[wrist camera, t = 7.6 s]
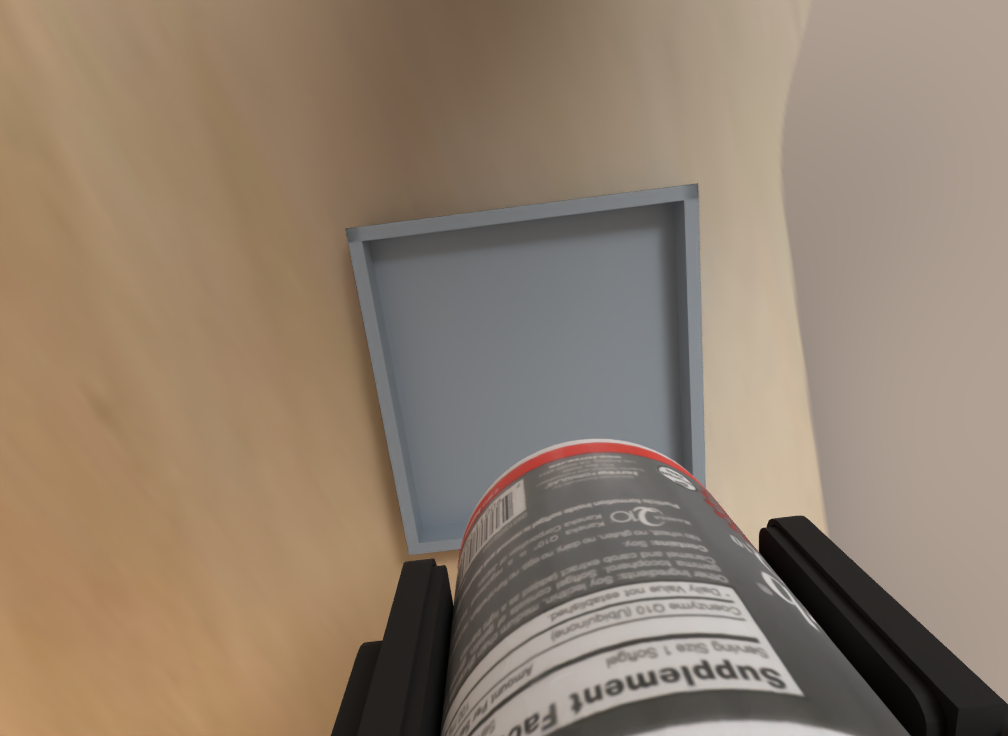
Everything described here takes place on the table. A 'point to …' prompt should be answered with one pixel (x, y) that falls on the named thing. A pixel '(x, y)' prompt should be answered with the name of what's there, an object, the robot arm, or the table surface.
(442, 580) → the robot arm
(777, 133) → the table surface
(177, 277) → the table surface
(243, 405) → the table surface
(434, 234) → the slate tray
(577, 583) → the pill bottle
